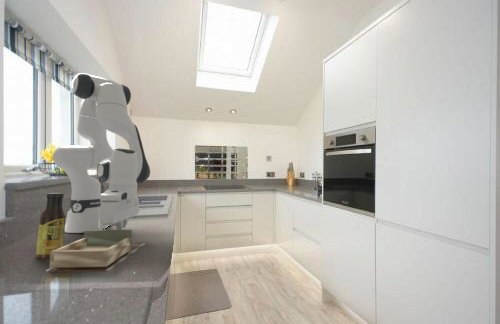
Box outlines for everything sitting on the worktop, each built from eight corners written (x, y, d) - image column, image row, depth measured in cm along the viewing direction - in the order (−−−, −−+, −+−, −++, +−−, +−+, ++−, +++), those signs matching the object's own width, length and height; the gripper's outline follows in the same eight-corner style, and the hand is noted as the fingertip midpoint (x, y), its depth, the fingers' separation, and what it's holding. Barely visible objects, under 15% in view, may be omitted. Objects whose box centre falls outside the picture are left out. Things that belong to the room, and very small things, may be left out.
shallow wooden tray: (85, 252, 71) (87, 229, 71) (131, 252, 72) (132, 229, 72) (49, 271, 57) (50, 242, 57) (105, 270, 58) (107, 242, 58)
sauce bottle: (46, 262, 65) (50, 194, 67) (29, 260, 67) (34, 193, 68) (68, 254, 72) (72, 192, 73) (52, 253, 73) (56, 192, 74)
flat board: (99, 247, 80) (99, 243, 80) (145, 246, 81) (145, 242, 81) (44, 275, 57) (45, 270, 57) (109, 274, 58) (109, 269, 58)
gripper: (128, 191, 91) (126, 225, 90) (96, 196, 70) (94, 240, 70) (144, 191, 91) (142, 225, 90) (117, 196, 71) (114, 240, 70)
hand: (121, 232), depth 80 cm, fingers closed
